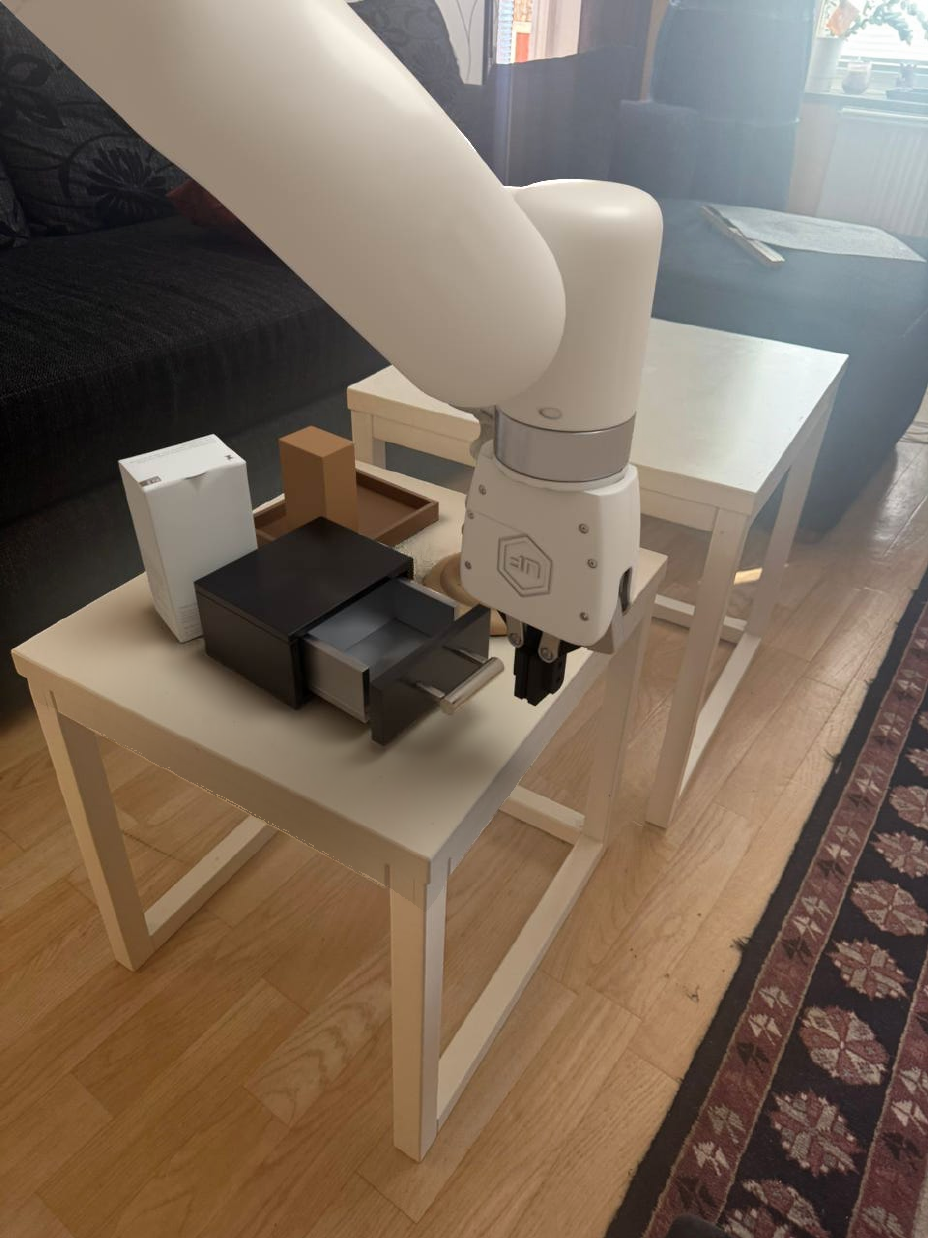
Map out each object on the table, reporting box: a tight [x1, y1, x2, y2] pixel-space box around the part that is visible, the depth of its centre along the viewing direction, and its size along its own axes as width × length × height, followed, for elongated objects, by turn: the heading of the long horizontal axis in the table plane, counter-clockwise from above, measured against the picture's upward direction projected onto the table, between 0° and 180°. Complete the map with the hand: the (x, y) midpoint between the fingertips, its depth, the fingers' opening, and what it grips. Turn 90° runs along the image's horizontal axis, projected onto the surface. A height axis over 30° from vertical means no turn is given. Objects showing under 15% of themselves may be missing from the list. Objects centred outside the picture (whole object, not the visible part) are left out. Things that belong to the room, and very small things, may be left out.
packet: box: [278, 425, 359, 533], centre depth 80 cm, size 4×6×11 cm
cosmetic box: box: [117, 433, 258, 644], centre depth 71 cm, size 8×6×15 cm
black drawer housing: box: [194, 516, 415, 711], centre depth 70 cm, size 11×14×7 cm
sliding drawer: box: [297, 575, 505, 748], centre depth 65 cm, size 13×12×5 cm
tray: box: [253, 467, 440, 548], centre depth 86 cm, size 16×12×2 cm
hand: (537, 690), depth 58 cm, fingers closed
